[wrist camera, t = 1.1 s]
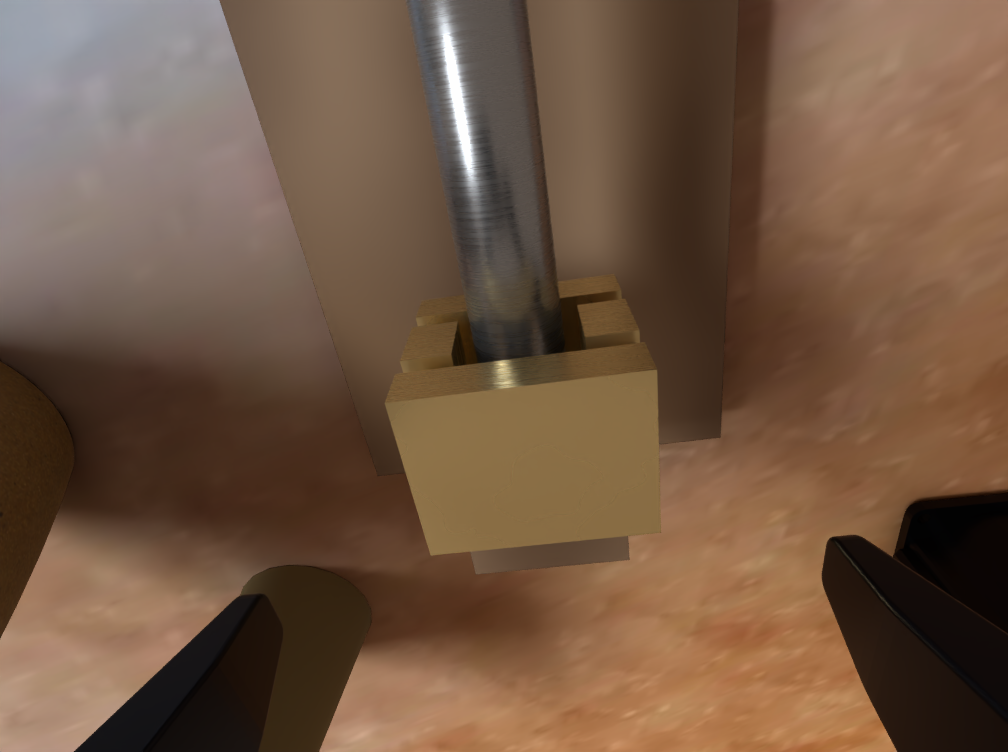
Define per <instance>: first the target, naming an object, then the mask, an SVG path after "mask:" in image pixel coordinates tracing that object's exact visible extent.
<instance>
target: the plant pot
mask: <svg viewBox="0 0 1008 752" xmlns="http://www.w3.org/2000/svg"><path fill="white" fill-rule="evenodd" d="M73 466H74V447H73V442H72V438H71V435H70V432H69V430H68V428H67V426H66V424H65V422H64V420H63V419H62V417H61V415H60V413H59V412H58V411H57V409H56V408H55V407H54V405H53V404H52V402H51V401H50V400H49V399H48V398H47V397H46V396H45V395H44V394H43V393H42V392H41V391H40V390H39V389H38V388H37V387H36V386H35V385H33V384H32V383H31V382H30V381H28V380H27V379H26V378H25V377H23V376H22V375H21V374H19V373H18V372H16V371H15V370H13V369H12V368H10V367H9V366H7V365H5V364H4V363H2V362H0V638H1V636H2V634H3V632H4V630H5V628H6V626H7V624H8V622H9V620H10V618H11V616H12V614H13V612H14V610H15V608H16V606H17V604H18V602H19V600H20V598H21V595H22V593H23V591H24V589H25V587H26V585H27V582H28V580H29V578H30V576H31V574H32V572H33V569H34V567H35V565H36V563H37V561H38V559H39V556H40V554H41V552H42V549H43V547H44V544H45V542H46V540H47V537H48V535H49V532H50V530H51V527H52V525H53V522H54V520H55V518H56V515H57V512H58V510H59V507H60V505H61V502H62V499H63V497H64V494H65V491H66V488H67V485H68V482H69V479H70V476H71V473H72V470H73Z"/></svg>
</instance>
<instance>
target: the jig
mask: <svg viewBox="0 0 1008 752" xmlns="http://www.w3.org/2000/svg"><path fill="white" fill-rule="evenodd" d="M220 3H221V6H222V9H223V12H224V15H225V19H226V22H227V25H228V28H229V31H230V34H231V37H232V40H233V43H234V46H235V49H236V52H237V55H238V58H239V61H240V64H241V67H242V70H243V73H244V76H245V79H246V82H247V85H248V88H249V91H250V94H251V97H252V100H253V103H254V106H255V109H256V112H257V115H258V118H259V121H260V124H261V127H262V130H263V133H264V136H265V139H266V142H267V145H268V148H269V151H270V154H271V157H272V160H273V163H274V166H275V169H276V172H277V175H278V178H279V181H280V184H281V187H282V190H283V193H284V196H285V199H286V202H287V205H288V208H289V211H290V214H291V217H292V220H293V223H294V226H295V229H296V232H297V235H298V238H299V241H300V244H301V247H302V250H303V253H304V256H305V259H306V262H307V265H308V268H309V271H310V274H311V277H312V280H313V283H314V286H315V289H316V292H317V295H318V298H319V301H320V304H321V307H322V310H323V313H324V316H325V319H326V322H327V325H328V328H329V331H330V334H331V337H332V340H333V343H334V346H335V349H336V352H337V355H338V358H339V361H340V364H341V367H342V370H343V373H344V376H345V379H346V382H347V385H348V388H349V391H350V394H351V397H352V400H353V403H354V406H355V409H356V412H357V415H358V418H359V421H360V424H361V427H362V430H363V433H364V436H365V439H366V442H367V445H368V448H369V451H370V454H371V457H372V460H373V463H374V466H375V469H376V472H377V475H378V476H383V475H392V474H401V473H406V472H405V469H404V466H403V462H402V459H401V456H400V452H399V449H398V446H397V443H396V439H395V436H394V433H393V429H392V426H391V423H390V419H389V416H388V413H387V409H386V406H385V401H386V398H387V395H388V393H389V390H390V387H391V384H392V382H393V379H394V376H395V374H400V373H403V371H402V367H401V363H400V360H401V357H402V354H403V351H404V349H405V346H406V343H407V340H408V338H409V335H410V332H411V329H412V327H418V325H417V321H416V316H417V313H418V310H419V307H420V305H421V302H422V301H423V300H430V299H438V298H445V297H452V296H459V295H464V292H463V287H462V282H461V277H460V272H459V267H458V262H457V257H456V252H455V247H454V242H453V237H452V231H451V226H450V221H449V216H448V211H447V206H446V201H445V196H444V191H443V186H442V181H441V176H440V171H439V166H438V161H437V156H436V151H435V146H434V141H433V136H432V131H431V126H430V121H429V116H428V111H427V106H426V101H425V96H424V90H423V85H422V80H421V75H420V70H419V65H418V60H417V55H416V50H415V45H414V40H413V35H412V30H411V25H410V20H409V15H408V10H407V5H406V0H220ZM527 7H528V16H529V25H530V34H531V43H532V52H533V61H534V70H535V79H536V88H537V97H538V106H539V115H540V124H541V133H542V142H543V151H544V160H545V169H546V178H547V187H548V196H549V205H550V214H551V223H552V232H553V241H554V250H555V259H556V268H557V277H558V282H560V281H567V280H575V279H582V278H589V277H596V276H603V275H611V274H614V275H615V277H616V279H617V282H618V284H619V286H620V288H621V296H622V299H626V302H627V304H628V306H629V308H630V310H631V313H632V315H633V317H634V319H635V322H636V324H637V326H638V328H639V334H640V343H642V342H645V344H646V346H647V348H648V350H649V353H650V355H651V357H652V359H653V362H654V364H655V366H656V368H657V385H658V429H659V444H668V443H676V442H685V441H694V440H703V439H712V438H720V437H721V413H722V389H723V365H724V342H725V318H726V294H727V271H728V247H729V223H730V199H731V176H732V152H733V128H734V104H735V81H736V57H737V33H738V10H739V0H527ZM470 553H471V557H472V561H473V565H474V569H475V573H476V574H486V573H497V572H507V571H518V570H528V569H538V568H549V567H559V566H570V565H580V564H591V563H601V562H612V561H622V560H630V559H629V543H628V536H623V537H613V538H603V539H592V540H582V541H572V542H562V543H552V544H542V545H532V546H522V547H512V548H502V549H492V550H482V551H471V552H470Z"/></svg>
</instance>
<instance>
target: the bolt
mask: <svg viewBox="0 0 1008 752" xmlns="http://www.w3.org/2000/svg"><path fill="white" fill-rule="evenodd" d="M406 5H407V10H408V15H409V20H410V25H411V30H412V35H413V40H414V45H415V50H416V55H417V60H418V65H419V70H420V75H421V80H422V85H423V90H424V96H425V101H426V106H427V111H428V116H429V121H430V126H431V131H432V136H433V141H434V146H435V151H436V156H437V161H438V166H439V171H440V176H441V181H442V186H443V191H444V196H445V201H446V206H447V211H448V216H449V221H450V226H451V231H452V237H453V242H454V247H455V252H456V257H457V262H458V267H459V272H460V277H461V282H462V287H463V292H464V297H465V302H466V307H467V312H468V317H469V322H470V327H471V332H472V337H473V342H474V347H475V352H476V357H477V362H478V363H486V362H494V361H501V360H509V359H517V358H525V357H533V356H541V355H548V354H556V353H564V352H566V349H565V340H564V331H563V322H562V313H561V304H560V295H559V286H558V277H557V268H556V259H555V250H554V241H553V232H552V223H551V214H550V205H549V196H548V187H547V178H546V169H545V160H544V151H543V142H542V133H541V124H540V115H539V106H538V97H537V88H536V79H535V70H534V61H533V52H532V43H531V34H530V25H529V16H528V7H527V0H406Z"/></svg>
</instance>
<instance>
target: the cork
mask: <svg viewBox="0 0 1008 752" xmlns="http://www.w3.org/2000/svg"><path fill="white" fill-rule="evenodd" d="M255 593H263V594H265V595H266V596H267V597H268V598H269V600H270V602H271V603H272V605H273V607H274V609H275V611H276V613H277V615H278V617H279V619H280V620H281V622H282V625H283V632H284V634H283V642H282V647H281V652H280V657H279V662H278V667H277V672H276V677H275V682H274V687H273V692H272V697H271V702H270V706H269V711H268V716H267V721H266V725H265V730H264V734H263V737H262V741H261V745H260V748H259V752H319V750H320V748H321V745H322V743H323V740H324V738H325V735H326V733H327V731H328V728H329V726H330V723H331V721H332V718H333V716H334V713H335V711H336V708H337V706H338V703H339V701H340V698H341V696H342V693H343V691H344V689H345V686H346V684H347V681H348V679H349V676H350V674H351V671H352V669H353V666H354V664H355V661H356V659H357V656H358V654H359V652H360V649H361V647H362V644H363V642H364V639H365V637H366V634H367V632H368V629H369V627H370V624H371V608H370V606H369V604H368V603H367V601H366V599H365V597H364V595H363V594H362V593H361V592H360V591H359V590H358V589H357V588H356V587H354V586H353V585H352V584H351V583H350V582H348V581H346V580H345V579H343V578H341V577H339V576H337V575H335V574H334V573H331V572H328V571H324V570H321V569H317V568H314V567H308V566H293V565H288V566H282V567H276V568H270V569H267V570H265V571H263V572H261V573H259V574H257V575H255V576H253V577H252V578H251V579H250V580H249V581H248V582H247V584H246V585H245V586H244V587H243V589H242V592H241V595H245V594H255ZM241 595H240V596H241Z"/></svg>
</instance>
